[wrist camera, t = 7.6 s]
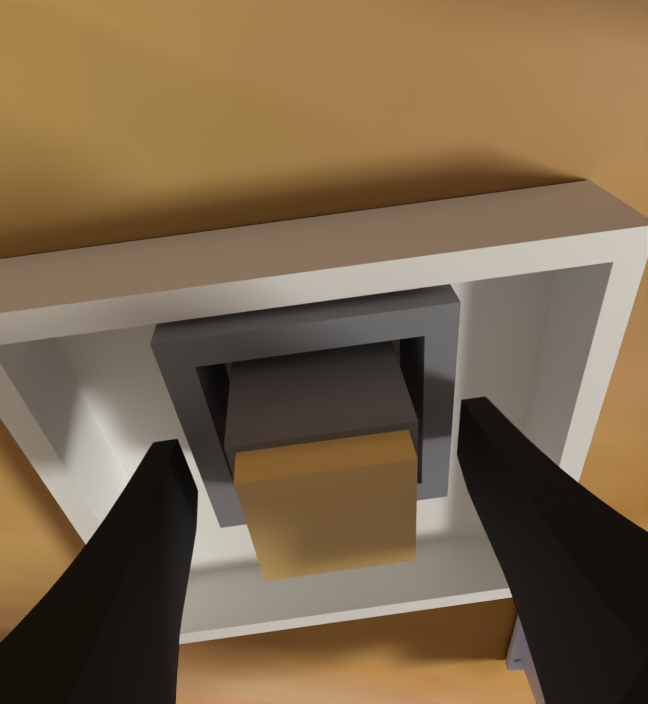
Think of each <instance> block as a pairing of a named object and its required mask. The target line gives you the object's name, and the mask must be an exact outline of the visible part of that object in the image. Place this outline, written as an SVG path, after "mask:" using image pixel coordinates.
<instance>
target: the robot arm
mask: <svg viewBox="0 0 648 704" xmlns="http://www.w3.org/2000/svg"><path fill="white" fill-rule="evenodd" d="M457 457H458V460H459V464H460V467H461V471H462V474H463V477H464V481H465V484H466V487H467V490H468V493H469V495H470V498H471V500H472V502H473V505H474V507H475V509H476V512H477V514H478V516H479V518H480V521H481V523H482V525H483V528H484V530H485V532H486V534H487V537H488V539H489V541H490V543H491V546H492V548H493V550H494V553H495V555H496V557H497V559H498V562H499V564H500V566H501V569H502V571H503V573H504V576H505V578H506V581H507V584H508V586H509V589H510V592H511V595H512V598H513V601H514V604H515V607H516V610H517V613H518V616H517V620H516V623H515V627H514V631H513V635H512V639H511V643H510V646H509V650H508V654H507V658H506V662H505V663H506V666H507V669H508V670H510V671H515V670H522V669H524V671H525V674H526V677H527V679H528V682H529V685H530V687H531V690H532V693H533V696H534V698H535V701H536V704H648V532H647V531H645V530H644V529H642V528H641V527H639V526H637V525H636V524H634V523H633V522H631V521H630V520H628V519H627V518H626V517H624V516H623V515H621V514H620V513H618V512H617V511H615V510H614V509H613V508H611V507H610V506H608V505H607V504H606V503H604V502H603V501H602V500H600V499H599V498H598V497H596V496H595V495H594V494H592V493H591V492H590V491H588V490H587V489H586V488H585V487H583V486H582V485H581V484H579V483H578V482H577V481H576V480H575V479H573V478H572V477H571V476H570V475H569V474H567V473H566V472H565V471H564V470H563V469H561V468H560V467H559V466H558V465H557V464H556V463H554V462H553V461H552V460H551V459H550V458H549V457H548V456H547V455H545V454H544V453H543V452H542V451H541V450H540V449H539V448H538V447H537V446H536V445H534V444H533V443H532V442H531V441H530V440H529V439H528V438H527V437H526V436H525V435H524V434H523V433H522V432H521V431H520V430H519V429H518V428H517V427H516V426H515V425H514V424H513V423H512V422H511V421H510V420H509V419H508V418H507V417H506V416H505V415H504V414H503V413H502V412H501V411H500V410H499V409H498V408H497V407H496V406H495V405H494V404H493V403H492V402H491V401H490V400H489V399H488V398H486V397H477V398H470V399H463V400H461V408H460V420H459V433H458V445H457ZM197 512H198V489H197V486H196V484H195V481H194V479H193V476H192V474H191V471H190V469H189V466H188V463H187V461H186V458H185V456H184V453H183V451H182V448H181V446H180V443H179V441H178V439H172V440H165V441H158V442H153V443H152V445H151V446H150V448H149V449H148V451H147V452H146V454H145V456H144V457H143V459H142V461H141V462H140V464H139V466H138V467H137V469H136V471H135V472H134V474H133V475H132V477H131V479H130V480H129V482H128V483H127V485H126V487H125V488H124V490H123V491H122V493H121V494H120V496H119V497H118V499H117V501H116V502H115V504H114V505H113V507H112V508H111V510H110V511H109V513H108V514H107V516H106V517H105V519H104V520H103V521H102V523H101V524H100V526H99V527H98V528H97V530H96V531H95V533H94V534H93V535H92V537H91V538H90V539H89V541H88V542H87V544H86V545H85V546H84V548H83V549H82V550H81V552H80V553H79V554H78V556H77V557H76V558H75V560H74V561H73V562H72V563H71V565H70V566H69V567H68V568H67V570H66V571H65V572H64V573H63V575H62V576H61V577H60V578H59V579H58V581H57V582H56V583H55V584H54V585H53V586H52V588H51V589H50V590H49V591H48V592H47V593H46V595H45V596H44V597H43V598H42V599H41V600H40V601H39V602H38V603H37V605H36V606H35V607H34V608H33V609H32V610H31V611H30V612H29V613H28V614H27V616H26V617H25V618H24V619H23V620H22V621H21V622H20V623H19V624H18V625H17V626H16V627H15V628H14V629H13V630H12V631H11V632H10V633H9V635H8V636H7V637H6V638H5V639H3V640H2V641H1V642H0V704H176V685H177V668H178V654H179V640H180V630H181V622H182V615H183V609H184V603H185V597H186V591H187V585H188V579H189V573H190V567H191V561H192V555H193V549H194V542H195V536H196V530H197Z"/></svg>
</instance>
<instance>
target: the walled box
mask: <svg viewBox="0 0 648 704" xmlns="http://www.w3.org/2000/svg"><path fill="white" fill-rule="evenodd" d="M647 258H648V218H647V217H646V216H644V215H643V214H641V213H640V212H638V211H636V210H635V209H633V208H632V207H630V206H629V205H627V204H626V203H624V202H623V201H621V200H619V199H618V198H616V197H615V196H613V195H612V194H610V193H609V192H607V191H606V190H604V189H603V188H601V187H599V186H598V185H596V184H595V183H593V182H592V181H590V180H586V181H579V182H571V183H564V184H556V185H549V186H541V187H534V188H526V189H519V190H512V191H504V192H497V193H489V194H482V195H474V196H467V197H459V198H452V199H444V200H437V201H429V202H422V203H414V204H407V205H400V206H392V207H385V208H377V209H370V210H362V211H355V212H347V213H340V214H332V215H325V216H317V217H310V218H302V219H295V220H288V221H280V222H273V223H265V224H258V225H250V226H243V227H235V228H228V229H220V230H213V231H205V232H198V233H190V234H183V235H176V236H168V237H161V238H153V239H146V240H138V241H131V242H123V243H116V244H108V245H101V246H93V247H86V248H78V249H71V250H64V251H56V252H49V253H41V254H34V255H26V256H19V257H11V258H4V259H0V419H1V420H2V422H3V423H4V425H5V426H6V428H7V429H8V430H9V432H10V433H11V435H12V436H13V438H14V439H15V441H16V442H17V444H18V445H19V447H20V448H21V450H22V451H23V453H24V454H25V456H26V457H27V459H28V460H29V461H30V463H31V464H32V466H33V467H34V469H35V470H36V472H37V473H38V475H39V476H40V478H41V479H42V481H43V482H44V484H45V485H46V487H47V488H48V489H49V491H50V492H51V494H52V495H53V497H54V498H55V500H56V501H57V503H58V504H59V506H60V507H61V509H62V510H63V512H64V513H65V515H66V516H67V518H68V519H69V520H70V522H71V523H72V525H73V526H74V528H75V529H76V531H77V532H78V534H79V535H80V537H81V538H82V540H83V541H84V543H85V544H87V542H88V541H89V539H90V538H91V537H92V535H93V534H94V533H95V531H96V530H97V528H98V527H99V526H100V524H101V523H102V521H103V520H104V519H105V517H106V516H107V514H108V513H109V511H110V510H111V508H112V507H113V505H114V504H115V502H116V501H117V499H118V497H119V496H120V494H121V493H122V491H123V490H124V488H125V487H126V485H127V483H128V482H129V480H130V479H131V477H132V475H133V474H134V472H135V471H136V469H137V467H138V466H139V464H140V462H141V461H142V459H143V457H144V456H145V454H146V452H147V451H148V449H149V448H150V446H151V445H152V443H153V442H158V441H165V440H172V439H178V441H179V443H180V446H181V448H182V451H183V453H184V456H185V458H186V461H187V463H188V466H189V469H190V471H191V474H192V476H193V479H194V481H195V484H196V486H197V489H198V512H197V530H196V536H195V542H194V549H193V555H192V561H191V567H190V573H189V579H188V585H187V591H186V597H185V603H184V609H183V615H182V622H181V630H180V640H179V644H185V643H192V642H200V641H207V640H214V639H221V638H228V637H235V636H242V635H249V634H256V633H263V632H270V631H277V630H284V629H292V628H299V627H306V626H313V625H320V624H327V623H334V622H341V621H348V620H355V619H362V618H369V617H376V616H383V615H391V614H398V613H405V612H412V611H419V610H426V609H433V608H440V607H447V606H454V605H461V604H468V603H475V602H483V601H490V600H497V599H504V598H511V597H512V595H511V592H510V589H509V586H508V584H507V581H506V578H505V576H504V573H503V571H502V569H501V566H500V564H499V562H498V559H497V557H496V555H495V553H494V550H493V548H492V546H491V543H490V541H489V539H488V537H487V534H486V532H485V530H484V528H483V525H482V523H481V521H480V518H479V516H478V514H477V512H476V509H475V507H474V505H473V502H472V500H471V498H470V495H469V493H468V490H467V487H466V484H465V481H464V477H463V474H462V471H461V467H460V464H459V460H458V457H457V445H458V433H459V420H460V408H461V400H463V399H470V398H477V397H486V398H488V399H489V400H490V401H491V402H492V403H493V404H494V405H495V406H496V407H497V408H498V409H499V410H500V411H501V412H502V413H503V414H504V415H505V416H506V417H507V418H508V419H509V420H510V421H511V422H512V423H513V424H514V425H515V426H516V427H517V428H518V429H519V430H520V431H521V432H522V433H523V434H524V435H525V436H526V437H527V438H528V439H529V440H530V441H531V442H532V443H533V444H534V445H536V446H537V447H538V448H539V449H540V450H541V451H542V452H543V453H544V454H545V455H547V456H548V457H549V458H550V459H551V460H552V461H553V462H554V463H556V464H557V465H558V466H559V467H560V468H561V469H563V470H564V471H565V472H566V473H567V474H569V475H570V476H571V477H572V478H573V479H575V480H576V481H577V482H579V478H580V475H581V472H582V469H583V465H584V462H585V459H586V456H587V452H588V449H589V446H590V443H591V440H592V436H593V433H594V430H595V427H596V423H597V420H598V417H599V414H600V410H601V407H602V404H603V401H604V397H605V394H606V391H607V388H608V384H609V381H610V378H611V375H612V372H613V368H614V365H615V362H616V359H617V355H618V352H619V349H620V346H621V342H622V339H623V336H624V333H625V329H626V326H627V323H628V320H629V316H630V313H631V310H632V307H633V303H634V300H635V297H636V294H637V291H638V287H639V284H640V281H641V278H642V274H643V271H644V268H645V265H646V261H647ZM390 340H391V342H392V345H393V348H394V351H395V354H396V357H397V360H398V363H399V366H400V368H401V371H402V374H403V377H404V380H405V383H406V386H407V389H408V392H409V395H410V398H411V401H412V404H413V407H414V410H415V413H416V416H417V419H418V465H417V517H416V560H414V561H407V562H400V563H392V564H385V565H378V566H371V567H363V568H356V569H349V570H342V571H334V572H327V573H320V574H313V575H305V576H298V577H291V578H284V579H276V580H269V581H265V580H264V577H263V574H262V571H261V568H260V565H259V562H258V558H257V555H256V552H255V549H254V546H253V543H252V540H251V537H250V533H249V530H248V527H247V524H246V521H245V518H244V515H243V512H242V508H241V505H240V502H239V499H238V496H237V493H236V490H235V486H234V478H233V474H232V471H231V468H230V465H229V462H228V459H227V455H226V452H225V449H224V441H225V430H226V419H227V409H228V398H229V387H230V376H231V365H232V362H236V361H244V360H251V359H258V358H266V357H273V356H280V355H288V354H295V353H302V352H310V351H317V350H324V349H332V348H339V347H346V346H354V345H361V344H368V343H376V342H383V341H390Z"/></svg>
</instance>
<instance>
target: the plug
mask: <svg viewBox="0 0 648 704" xmlns="http://www.w3.org/2000/svg"><path fill="white" fill-rule="evenodd" d="M224 449H225V452H226V455H227V459H228V462H229V465H230V468H231V471H232V474H233V478H234V486H235V490H236V493H237V496H238V499H239V502H240V505H241V508H242V512H243V515H244V518H245V521H246V524H247V527H248V530H249V533H250V537H251V540H252V543H253V546H254V549H255V552H256V555H257V558H258V562H259V565H260V568H261V571H262V574H263V577H264V580H265V581H269V580H276V579H284V578H291V577H298V576H305V575H313V574H320V573H327V572H334V571H342V570H349V569H356V568H363V567H371V566H378V565H385V564H392V563H400V562H407V561H414V560H416V517H417V465H418V419H417V416H416V413H415V410H414V407H413V404H412V401H411V398H410V395H409V392H408V389H407V386H406V383H405V380H404V377H403V374H402V371H401V368H400V366H399V363H398V360H397V357H396V354H395V351H394V348H393V345H392V342H391V340H390V341H383V342H376V343H368V344H361V345H354V346H346V347H339V348H332V349H324V350H317V351H310V352H302V353H295V354H288V355H280V356H273V357H266V358H258V359H251V360H244V361H236V362H232V365H231V376H230V387H229V398H228V409H227V419H226V430H225V441H224Z"/></svg>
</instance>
